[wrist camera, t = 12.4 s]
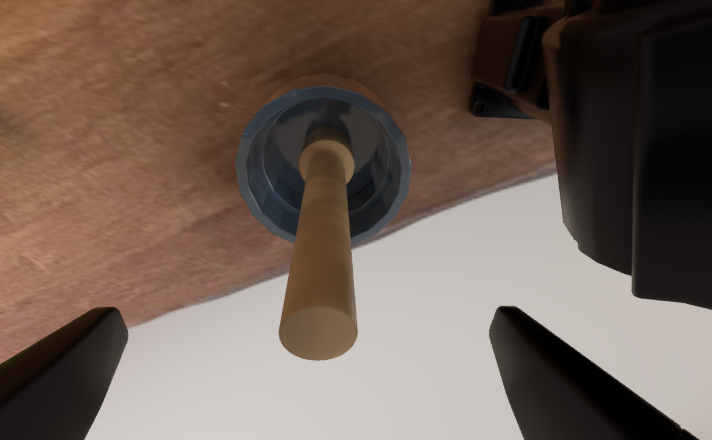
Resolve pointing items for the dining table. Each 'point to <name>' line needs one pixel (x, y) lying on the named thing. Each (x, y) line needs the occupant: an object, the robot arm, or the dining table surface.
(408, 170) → the bowl
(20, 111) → the dining table surface
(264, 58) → the dining table surface
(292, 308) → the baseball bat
